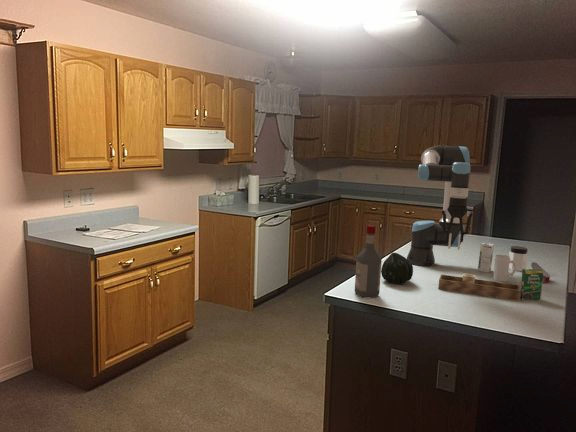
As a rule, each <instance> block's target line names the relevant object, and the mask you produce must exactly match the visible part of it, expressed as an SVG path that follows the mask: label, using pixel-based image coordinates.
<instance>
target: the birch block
mask: <svg viewBox="0 0 576 432" xmlns="http://www.w3.org/2000/svg"><path fill="white" fill-rule="evenodd" d="M462 277H463V280H462V282H464V283H472V284H474V281H475V279H476V274H471V273H465V272H464V273H463V274H462Z"/></svg>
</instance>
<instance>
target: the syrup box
mask: <svg viewBox="0 0 576 432" xmlns="http://www.w3.org/2000/svg"><path fill="white" fill-rule="evenodd" d="M494 246H495V244H493V243H489V242H482V243H481V244H480V250H479V256H478V257H479V258H478V265H477V272H483V273H490V272H491V271H492V266H493V265H492V262H493V255H494Z"/></svg>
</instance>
